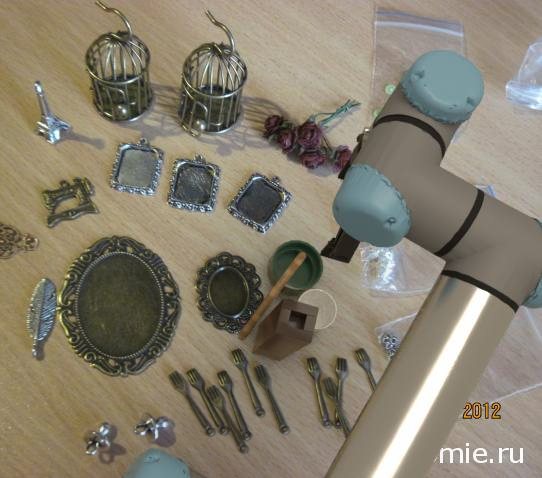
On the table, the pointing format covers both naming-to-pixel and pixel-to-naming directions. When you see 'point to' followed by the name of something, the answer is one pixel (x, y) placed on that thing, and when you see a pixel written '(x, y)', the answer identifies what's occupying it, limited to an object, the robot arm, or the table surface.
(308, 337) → the stand
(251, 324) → the stick
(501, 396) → the table surface
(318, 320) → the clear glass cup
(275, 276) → the bowl
